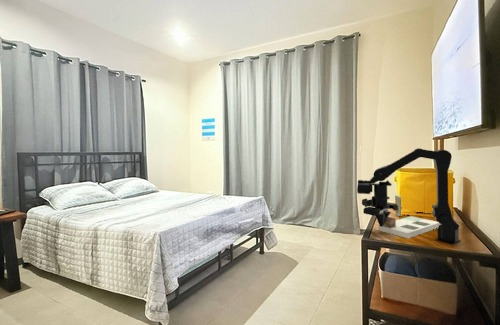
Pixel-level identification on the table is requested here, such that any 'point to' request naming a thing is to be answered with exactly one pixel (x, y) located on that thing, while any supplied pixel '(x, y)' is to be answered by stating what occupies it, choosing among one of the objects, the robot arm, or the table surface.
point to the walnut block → (390, 222)
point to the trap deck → (410, 227)
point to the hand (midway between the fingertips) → (381, 226)
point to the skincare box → (398, 204)
